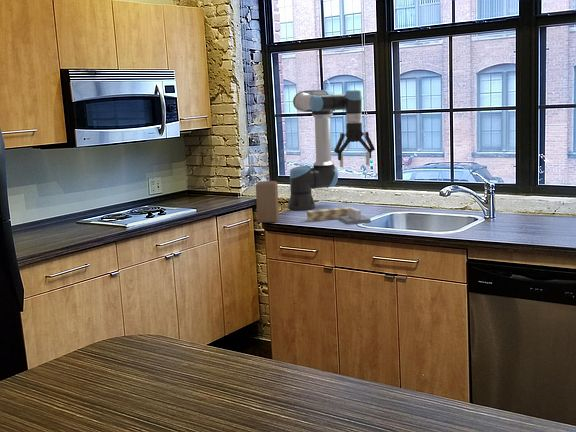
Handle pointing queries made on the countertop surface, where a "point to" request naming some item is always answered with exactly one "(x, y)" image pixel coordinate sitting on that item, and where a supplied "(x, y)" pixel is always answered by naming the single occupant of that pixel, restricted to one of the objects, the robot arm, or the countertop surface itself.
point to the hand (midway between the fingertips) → (354, 166)
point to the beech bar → (327, 214)
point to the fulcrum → (354, 217)
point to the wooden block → (267, 201)
